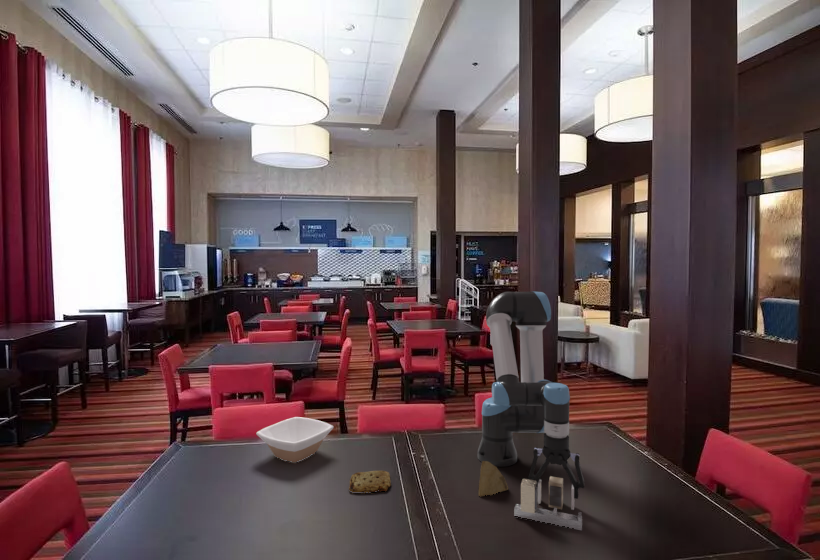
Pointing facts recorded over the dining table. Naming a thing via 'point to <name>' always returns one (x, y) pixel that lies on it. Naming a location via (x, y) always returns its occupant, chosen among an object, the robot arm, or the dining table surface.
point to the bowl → (295, 437)
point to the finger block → (555, 492)
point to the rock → (491, 480)
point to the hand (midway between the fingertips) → (555, 504)
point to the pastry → (370, 481)
